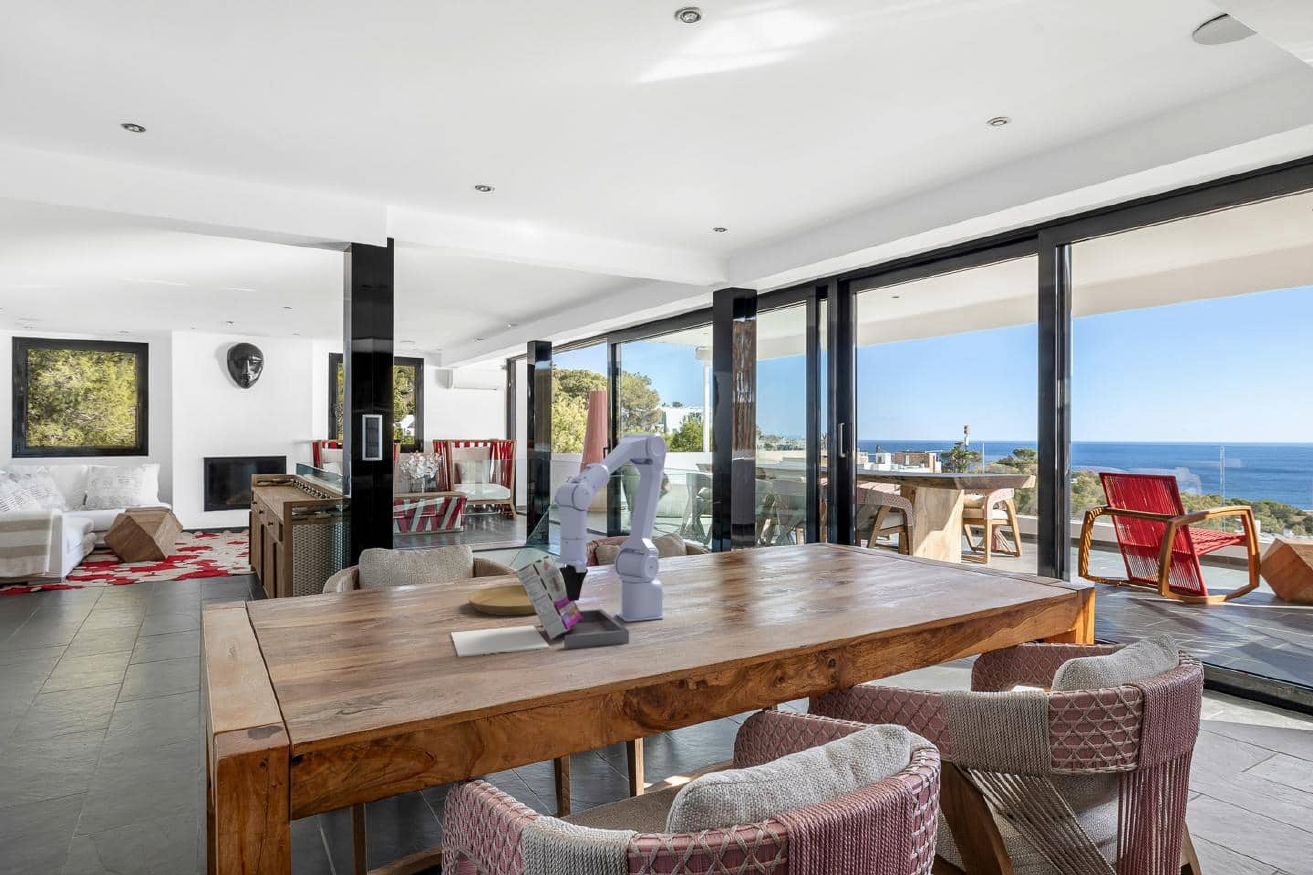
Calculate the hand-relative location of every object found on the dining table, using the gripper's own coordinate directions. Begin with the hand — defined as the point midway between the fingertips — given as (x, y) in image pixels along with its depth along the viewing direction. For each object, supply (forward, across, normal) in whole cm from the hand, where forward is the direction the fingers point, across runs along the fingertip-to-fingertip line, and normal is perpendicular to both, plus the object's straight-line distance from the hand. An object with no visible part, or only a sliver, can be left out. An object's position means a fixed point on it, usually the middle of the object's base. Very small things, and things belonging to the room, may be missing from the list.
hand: (573, 600), depth 164 cm
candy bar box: (+7, 0, -1) cm, 7 cm away
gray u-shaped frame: (+7, 0, +3) cm, 8 cm away
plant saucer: (+8, -32, -7) cm, 34 cm away
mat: (+8, 0, -16) cm, 18 cm away
